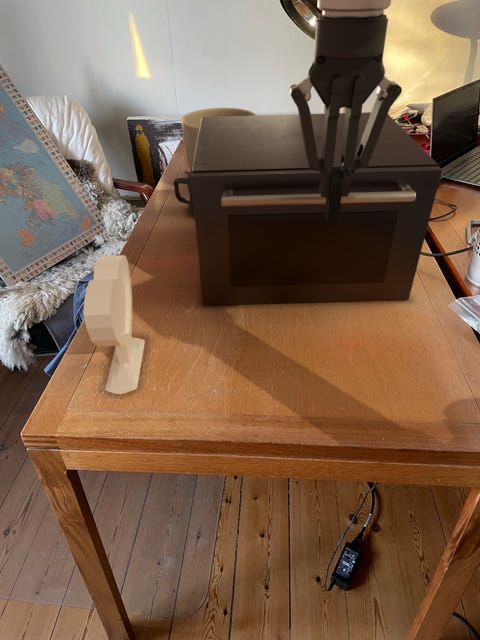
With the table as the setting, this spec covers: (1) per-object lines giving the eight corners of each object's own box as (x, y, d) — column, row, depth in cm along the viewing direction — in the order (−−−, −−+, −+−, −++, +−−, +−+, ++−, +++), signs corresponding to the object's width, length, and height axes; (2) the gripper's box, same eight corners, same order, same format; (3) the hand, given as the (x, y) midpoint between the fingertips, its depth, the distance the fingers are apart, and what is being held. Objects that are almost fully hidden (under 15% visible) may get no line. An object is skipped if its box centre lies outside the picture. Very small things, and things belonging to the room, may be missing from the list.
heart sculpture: (135, 397, 71) (112, 304, 59) (102, 399, 70) (73, 306, 59) (146, 333, 83) (129, 245, 72) (118, 334, 83) (97, 247, 71)
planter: (257, 199, 127) (257, 128, 115) (183, 199, 128) (175, 129, 116) (258, 172, 143) (258, 107, 131) (192, 172, 144) (186, 107, 132)
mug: (223, 203, 125) (221, 163, 118) (219, 218, 118) (217, 176, 111) (180, 203, 126) (176, 162, 119) (173, 217, 119) (168, 175, 112)
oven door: (414, 312, 86) (451, 178, 70) (201, 317, 86) (189, 185, 70) (406, 295, 90) (438, 165, 74) (203, 300, 90) (191, 172, 74)
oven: (405, 295, 90) (438, 164, 74) (203, 300, 90) (191, 171, 74) (367, 221, 115) (386, 111, 99) (209, 225, 115) (201, 116, 99)
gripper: (403, 7, 51) (372, 205, 66) (287, 11, 51) (281, 208, 66) (425, 13, 45) (385, 229, 60) (294, 18, 45) (286, 232, 60)
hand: (331, 218), depth 63 cm, fingers closed
